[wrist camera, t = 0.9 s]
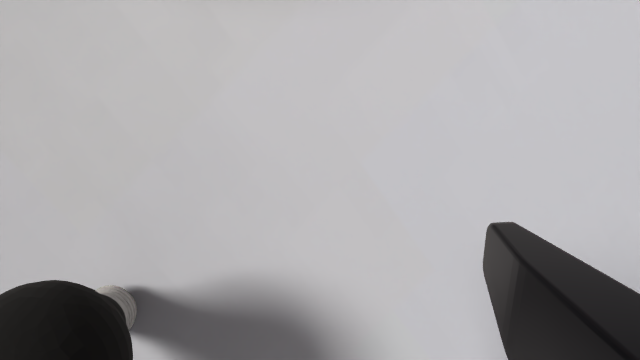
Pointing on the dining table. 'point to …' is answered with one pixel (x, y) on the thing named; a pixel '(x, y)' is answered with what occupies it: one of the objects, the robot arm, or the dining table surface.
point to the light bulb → (66, 322)
